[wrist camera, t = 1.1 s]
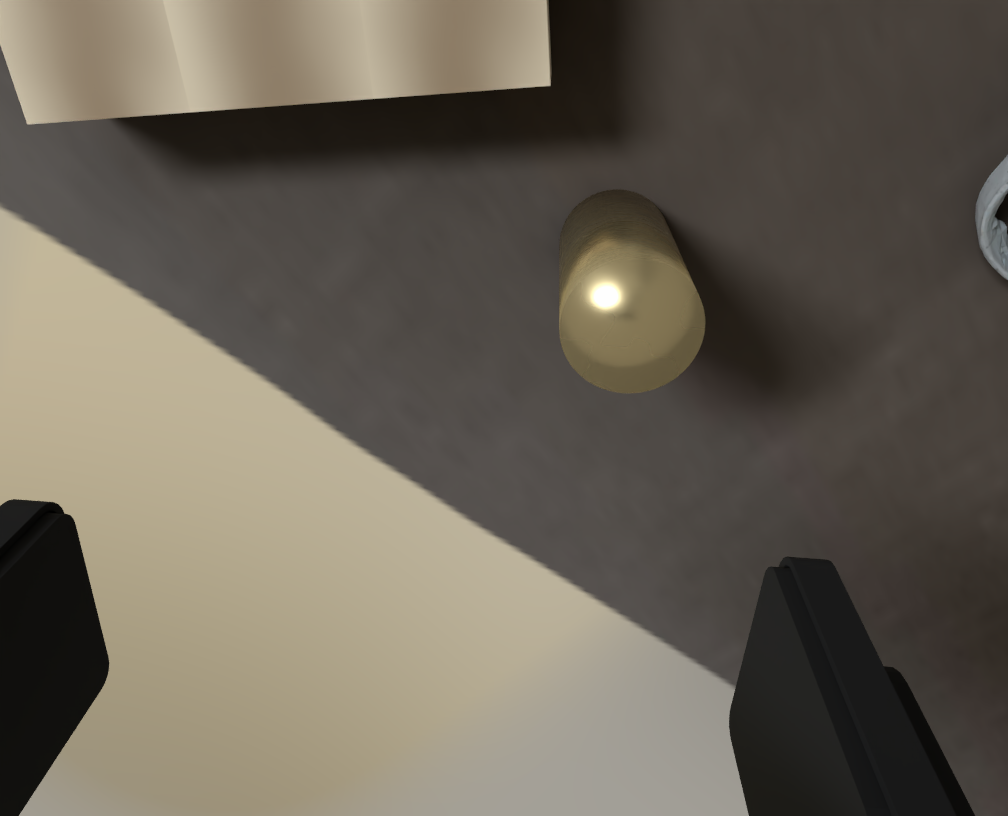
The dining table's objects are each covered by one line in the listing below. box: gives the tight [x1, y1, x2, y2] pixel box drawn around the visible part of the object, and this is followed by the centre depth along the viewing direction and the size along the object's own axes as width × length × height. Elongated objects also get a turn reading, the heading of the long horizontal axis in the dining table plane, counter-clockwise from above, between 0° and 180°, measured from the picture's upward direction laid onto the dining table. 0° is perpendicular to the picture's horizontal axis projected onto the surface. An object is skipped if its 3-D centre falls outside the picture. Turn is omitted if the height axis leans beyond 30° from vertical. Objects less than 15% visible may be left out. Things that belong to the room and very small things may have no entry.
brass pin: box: [559, 190, 705, 393], centre depth 25 cm, size 4×4×8 cm
